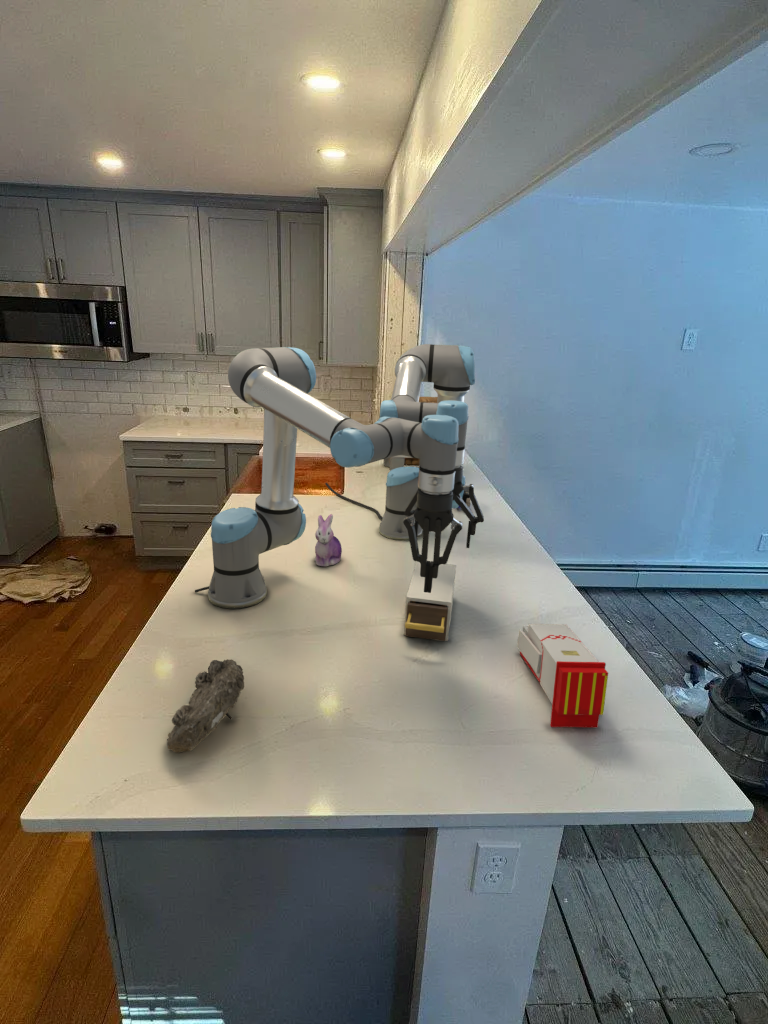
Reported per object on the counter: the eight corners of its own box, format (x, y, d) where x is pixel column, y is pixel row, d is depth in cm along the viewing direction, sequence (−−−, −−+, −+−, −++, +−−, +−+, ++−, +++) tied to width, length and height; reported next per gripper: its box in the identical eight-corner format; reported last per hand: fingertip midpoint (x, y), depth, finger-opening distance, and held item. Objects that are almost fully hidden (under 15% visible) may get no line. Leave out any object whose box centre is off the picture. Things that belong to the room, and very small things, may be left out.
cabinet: (447, 640, 137) (451, 602, 133) (403, 634, 138) (406, 596, 135) (453, 599, 156) (456, 564, 153) (414, 594, 158) (416, 560, 154)
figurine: (319, 569, 170) (319, 523, 165) (307, 556, 178) (307, 511, 173) (348, 564, 174) (349, 519, 169) (335, 552, 182) (336, 508, 177)
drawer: (443, 654, 129) (446, 622, 126) (401, 649, 131) (403, 616, 128) (450, 601, 153) (453, 572, 150) (415, 597, 155) (417, 568, 152)
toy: (562, 608, 134) (617, 669, 105) (557, 660, 137) (609, 734, 107) (511, 607, 134) (552, 667, 104) (507, 659, 136) (545, 733, 107)
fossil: (192, 660, 117) (244, 628, 112) (224, 691, 120) (276, 661, 115) (142, 746, 98) (202, 712, 93) (182, 779, 101) (242, 748, 96)
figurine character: (470, 515, 225) (465, 499, 238) (472, 498, 221) (467, 483, 235) (453, 515, 224) (449, 499, 238) (455, 497, 221) (451, 482, 234)
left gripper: (402, 492, 117) (396, 594, 125) (466, 498, 115) (456, 601, 123) (407, 482, 124) (401, 579, 132) (467, 487, 122) (457, 585, 130)
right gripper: (396, 464, 139) (392, 544, 146) (499, 472, 135) (490, 554, 143) (400, 457, 146) (395, 533, 153) (498, 464, 142) (489, 542, 150)
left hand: (427, 589), depth 127 cm, fingers closed
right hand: (441, 543), depth 148 cm, fingers open, 13 cm apart
